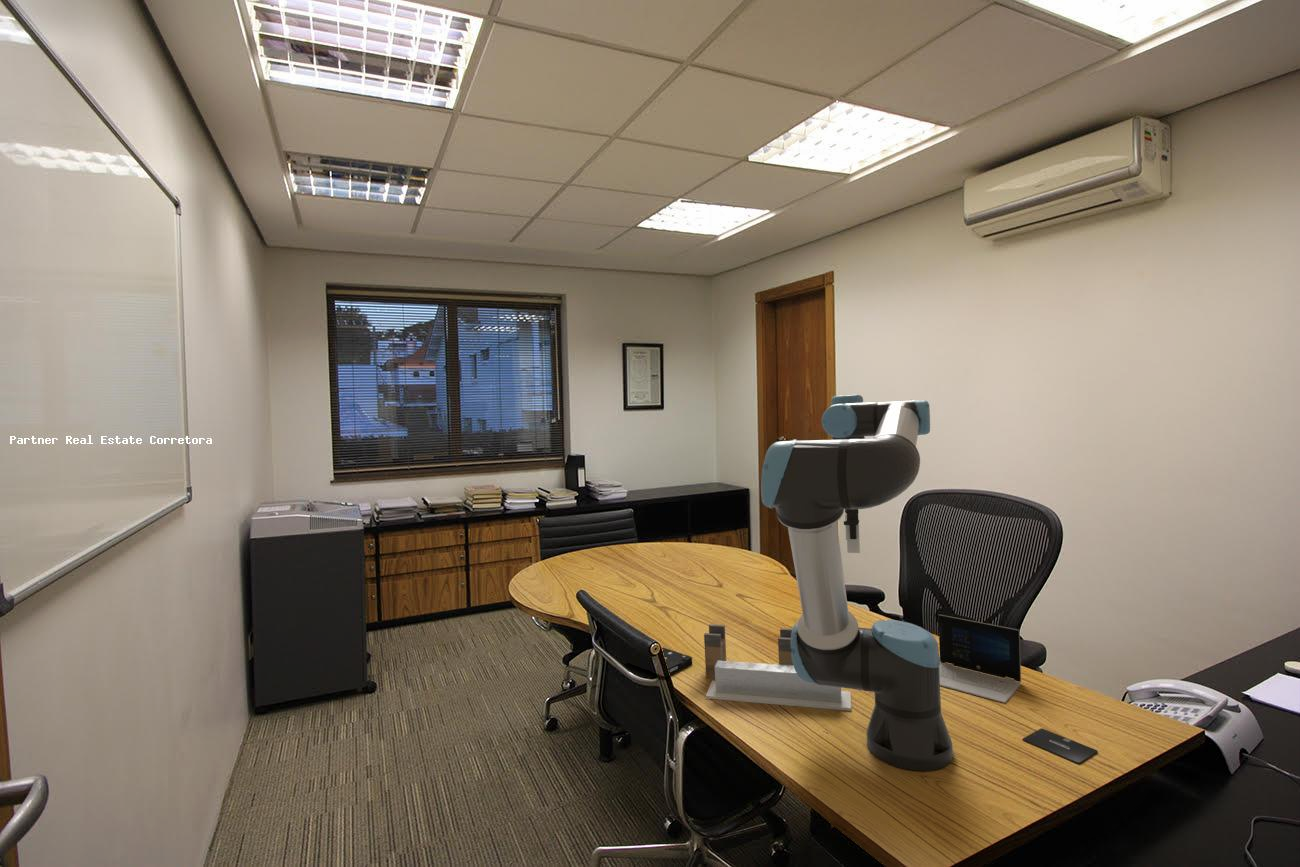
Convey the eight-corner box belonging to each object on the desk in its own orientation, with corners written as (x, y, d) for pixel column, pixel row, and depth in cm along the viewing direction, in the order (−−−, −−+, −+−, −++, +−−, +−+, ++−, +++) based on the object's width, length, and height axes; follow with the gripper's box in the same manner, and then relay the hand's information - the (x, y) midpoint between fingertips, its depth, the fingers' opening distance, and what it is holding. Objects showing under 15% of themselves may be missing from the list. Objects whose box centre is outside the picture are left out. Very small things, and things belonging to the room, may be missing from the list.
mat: (851, 711, 132) (851, 708, 132) (705, 698, 141) (705, 695, 141) (850, 694, 140) (850, 691, 140) (712, 683, 149) (712, 680, 149)
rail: (841, 703, 135) (840, 676, 135) (715, 692, 143) (714, 667, 142) (841, 694, 139) (840, 668, 138) (718, 685, 147) (717, 660, 146)
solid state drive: (1041, 731, 122) (1041, 727, 122) (1098, 754, 113) (1098, 750, 113) (1021, 742, 118) (1021, 738, 118) (1079, 766, 109) (1079, 763, 109)
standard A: (797, 685, 146) (795, 639, 145) (779, 683, 147) (777, 638, 146) (798, 672, 153) (796, 628, 152) (782, 671, 154) (780, 628, 153)
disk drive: (693, 667, 161) (652, 652, 171) (693, 656, 160) (652, 642, 171) (666, 680, 153) (625, 664, 164) (666, 669, 153) (625, 654, 163)
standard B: (722, 679, 151) (720, 635, 150) (706, 678, 152) (704, 634, 152) (726, 667, 158) (724, 625, 157) (711, 666, 159) (709, 624, 158)
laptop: (920, 682, 145) (918, 628, 144) (940, 665, 154) (938, 613, 153) (1005, 705, 132) (1003, 646, 132) (1021, 685, 141) (1020, 629, 141)
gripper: (868, 463, 135) (872, 558, 136) (862, 454, 159) (865, 535, 160) (833, 464, 137) (837, 558, 138) (832, 455, 161) (835, 535, 162)
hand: (852, 546), depth 149 cm, fingers open, 13 cm apart
